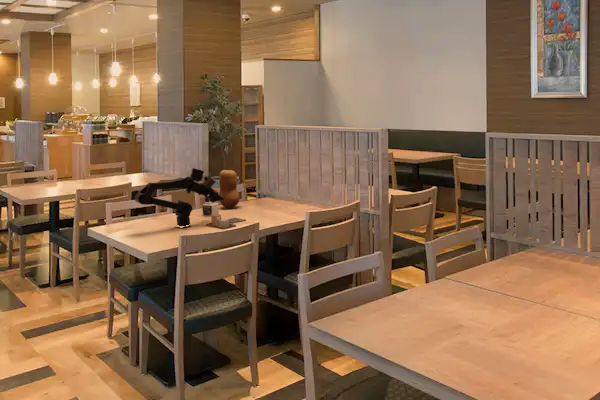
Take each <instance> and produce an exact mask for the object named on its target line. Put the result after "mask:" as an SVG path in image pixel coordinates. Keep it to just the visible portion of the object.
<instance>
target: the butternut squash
mask: <svg viewBox="0 0 600 400" xmlns="http://www.w3.org/2000/svg"><path fill="white" fill-rule="evenodd" d="M237 186H238V174H237V172H236V171H234V170H232V169H227V170H226V169H223V170H221V171H220V172H219V192H218V195H220V196H221V197H223V198H224V200H220V201H219V202H220V204H221V205H222V207H224V208H226V209H232V208H234V207H236V206H238V204H239V202H240V194H239V192H238V190H237V189H238V188H237Z"/></svg>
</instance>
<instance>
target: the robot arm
mask: <svg viewBox="0 0 600 400" xmlns="http://www.w3.org/2000/svg"><path fill="white" fill-rule="evenodd" d="M204 173H205V171H204V170H202V169H197V168H194V167H193V168H192V169H191V174H190V175H189V176H185V177H178V178H175V179H173V180H166V181H156V182H155V181H154V182H148V183H147V184H146V185H145V186H144V187H143V188H142V189H141V190H140V191H139V192H137V193H136V194H135V196H134V200H135V202H136V203H138V204H141V205H146V206H148V205H153V206H154V205H155V206H159V207H164V208H168V209H173V210H175V212H174V213H175V216H176V226H177V225H179V226H186V225H189V224H190V225H191V219H190V216H191V213H192V211H193V205H191V203H189V201H183V200H180V199H178V201H175V202H174V201H170V200H167V199H162V198H158V197H157V198H156V197H153V196H152V195H153V193H154V192H155V190H164V189H166V190H167V189H184V190H185V193H186V194H190V193H191V192H192V193H196V194H198V196H203V197H204V198H205V197H207V196H209V197H208V199H209V201H210V202H213V203H214V202H215V203H216V202H220V200H224V198H223V197H221V196H220V195H219V192H218V191H217V190H215V189H214V188H212V186H213V185H215V184H216V181H215V180H214V178H212V177H211V176H206V175H205V176H204ZM203 176H204V177H203ZM202 179H203V180H204V181H203V182H201V181H202ZM199 182H200V183H199Z"/></svg>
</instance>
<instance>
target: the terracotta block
mask: <svg viewBox="0 0 600 400" xmlns="http://www.w3.org/2000/svg"><path fill="white" fill-rule="evenodd" d="M210 219H211V222H212V224H211V225H216V226H219V220H222V214H220V213H219V214H214V215H211V216H210ZM211 222H210V223H211Z"/></svg>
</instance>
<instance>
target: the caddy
mask: <svg viewBox="0 0 600 400" xmlns="http://www.w3.org/2000/svg"><path fill="white" fill-rule="evenodd" d="M205 225H207V226H206V227H211V228H216V229H220V230H225V229H227V230H228V229H230V228H231V229H232V228H235V227H237V225H236V223H233V224H232V223H229V226H226V227H221V226H216V225H212V222H207V223H205Z"/></svg>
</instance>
